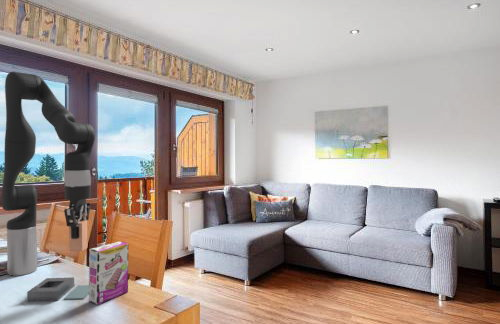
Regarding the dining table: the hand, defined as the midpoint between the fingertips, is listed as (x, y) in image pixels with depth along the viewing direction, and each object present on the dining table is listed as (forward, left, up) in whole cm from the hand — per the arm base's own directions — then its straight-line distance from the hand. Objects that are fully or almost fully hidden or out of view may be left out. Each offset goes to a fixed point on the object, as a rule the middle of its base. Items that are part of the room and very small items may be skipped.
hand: (78, 236), depth 105 cm
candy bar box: (+4, +11, -19) cm, 22 cm away
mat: (0, 0, -19) cm, 19 cm away
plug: (0, 0, -4) cm, 4 cm away
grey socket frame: (0, -9, -19) cm, 20 cm away
